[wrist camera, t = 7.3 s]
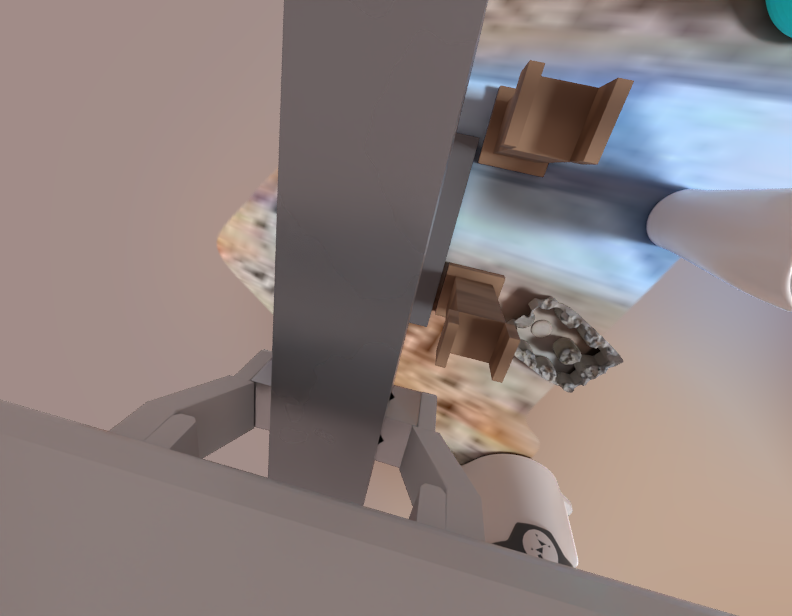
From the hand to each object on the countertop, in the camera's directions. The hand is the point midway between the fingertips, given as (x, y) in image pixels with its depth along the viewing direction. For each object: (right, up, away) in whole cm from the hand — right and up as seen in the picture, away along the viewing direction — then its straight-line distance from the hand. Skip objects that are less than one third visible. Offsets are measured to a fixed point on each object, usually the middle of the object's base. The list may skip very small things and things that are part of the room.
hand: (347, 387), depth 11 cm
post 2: (+13, +18, +18) cm, 29 cm away
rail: (0, 0, 0) cm, 1 cm away
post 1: (+10, +4, +25) cm, 27 cm away
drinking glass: (+28, +11, +19) cm, 35 cm away
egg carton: (+20, 0, +25) cm, 32 cm away
